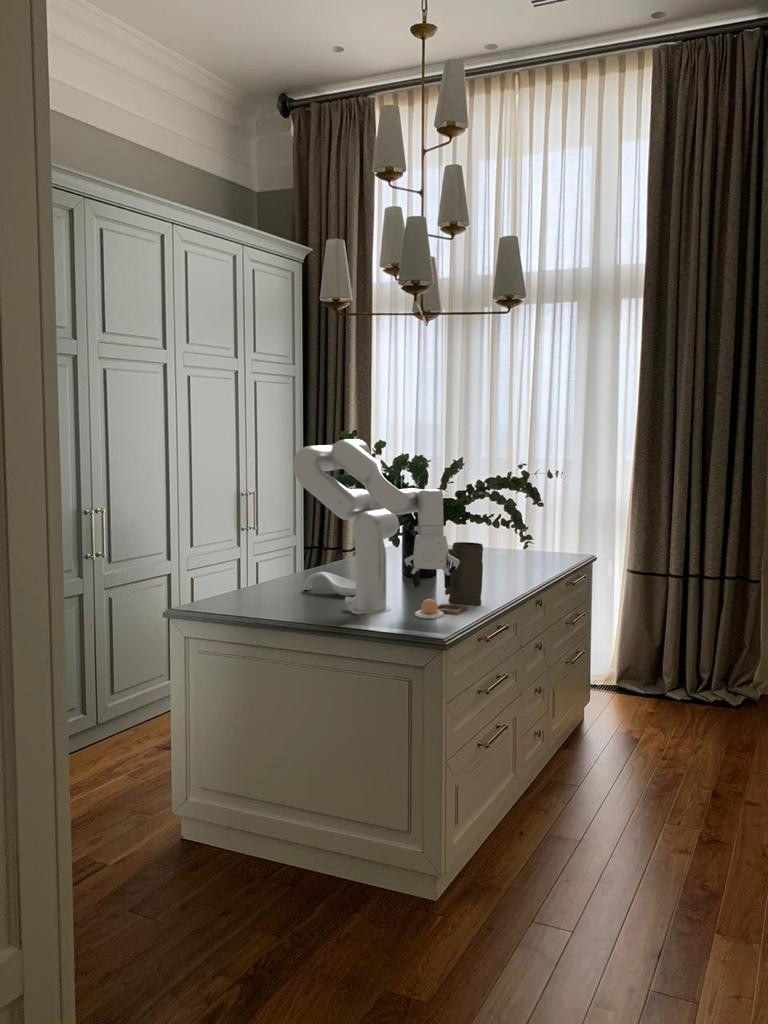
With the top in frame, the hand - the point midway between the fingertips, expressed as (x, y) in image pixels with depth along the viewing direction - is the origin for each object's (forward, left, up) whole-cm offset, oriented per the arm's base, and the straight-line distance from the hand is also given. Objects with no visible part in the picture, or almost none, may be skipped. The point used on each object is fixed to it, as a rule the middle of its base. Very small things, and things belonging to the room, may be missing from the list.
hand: (432, 587), depth 275 cm
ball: (-1, 0, -9) cm, 9 cm away
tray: (+2, +9, -10) cm, 13 cm away
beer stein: (+1, +25, -10) cm, 26 cm away
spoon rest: (-45, +26, -10) cm, 53 cm away
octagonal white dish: (-1, 0, -10) cm, 10 cm away
